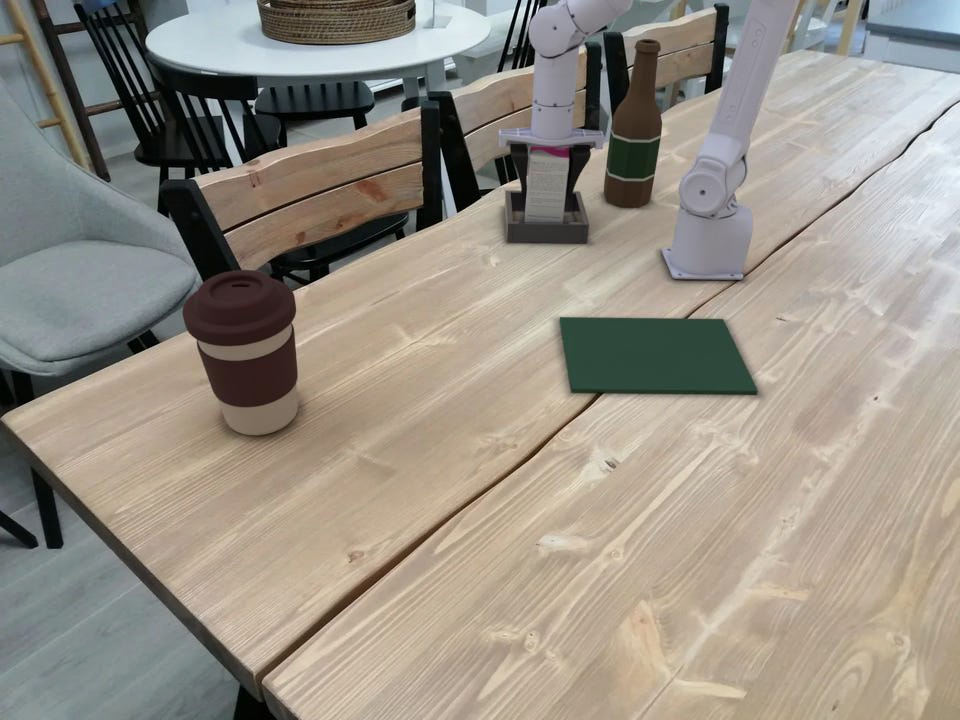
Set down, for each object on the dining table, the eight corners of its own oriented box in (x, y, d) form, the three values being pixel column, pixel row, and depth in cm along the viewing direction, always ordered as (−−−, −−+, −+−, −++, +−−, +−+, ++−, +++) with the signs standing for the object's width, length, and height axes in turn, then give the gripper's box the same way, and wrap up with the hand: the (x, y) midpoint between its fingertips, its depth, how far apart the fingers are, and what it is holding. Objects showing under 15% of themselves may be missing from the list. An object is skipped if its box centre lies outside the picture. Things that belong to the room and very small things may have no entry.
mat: (722, 322, 91) (723, 318, 90) (757, 394, 79) (758, 390, 79) (559, 320, 90) (559, 316, 90) (571, 392, 79) (571, 388, 79)
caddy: (578, 209, 116) (580, 191, 114) (587, 243, 107) (589, 224, 105) (504, 208, 116) (505, 190, 114) (506, 242, 107) (507, 223, 105)
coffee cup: (262, 460, 70) (233, 330, 61) (190, 423, 74) (153, 295, 65) (332, 404, 77) (314, 279, 68) (262, 372, 81) (238, 250, 72)
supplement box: (563, 233, 109) (569, 158, 102) (523, 230, 110) (526, 156, 103) (564, 216, 114) (570, 143, 107) (525, 214, 114) (529, 141, 107)
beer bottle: (596, 203, 118) (615, 44, 103) (608, 185, 123) (627, 32, 109) (645, 212, 115) (671, 50, 101) (654, 193, 121) (680, 38, 107)
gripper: (602, 92, 104) (592, 184, 112) (499, 90, 103) (496, 182, 111) (610, 108, 98) (598, 203, 106) (500, 107, 98) (497, 202, 106)
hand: (546, 194), depth 108 cm, fingers closed on supplement box, 6 cm apart
